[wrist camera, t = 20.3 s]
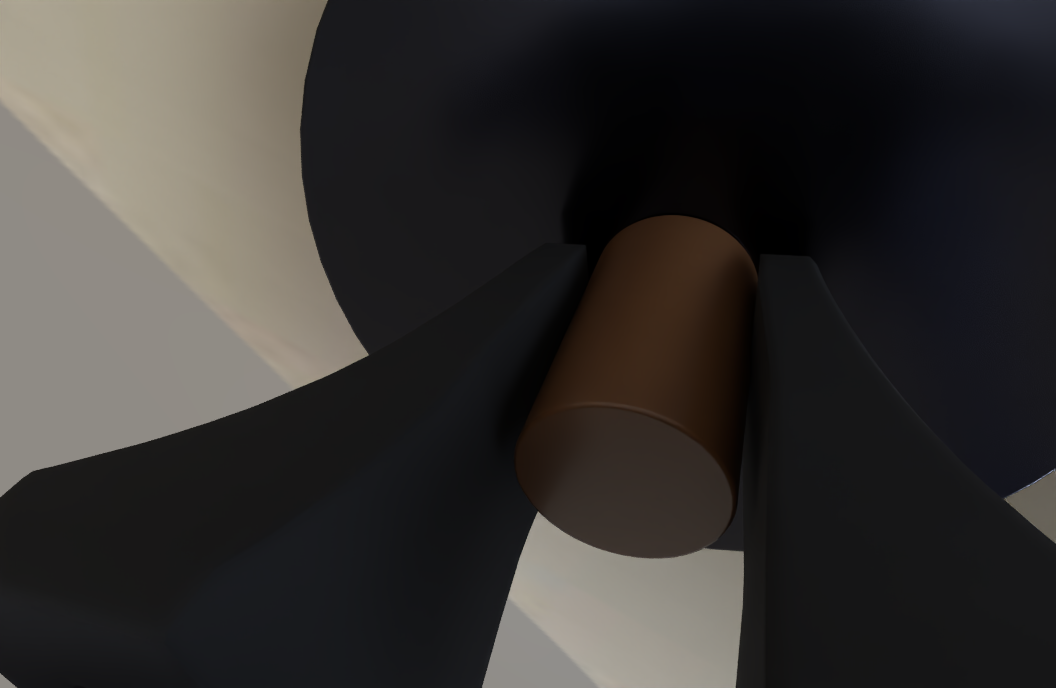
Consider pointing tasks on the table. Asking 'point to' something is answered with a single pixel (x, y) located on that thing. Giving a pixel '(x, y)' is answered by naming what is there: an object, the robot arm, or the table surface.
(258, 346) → the table surface
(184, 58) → the table surface
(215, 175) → the table surface
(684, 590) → the table surface
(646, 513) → the lid
